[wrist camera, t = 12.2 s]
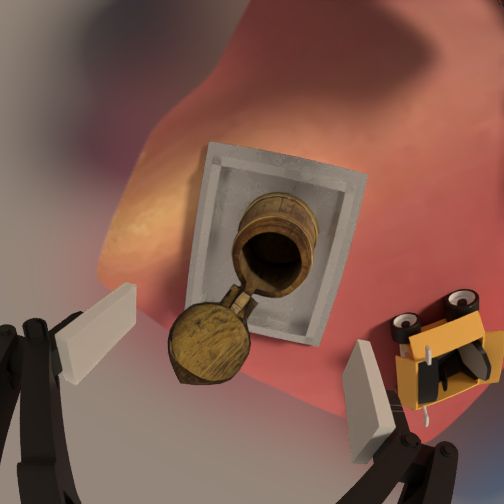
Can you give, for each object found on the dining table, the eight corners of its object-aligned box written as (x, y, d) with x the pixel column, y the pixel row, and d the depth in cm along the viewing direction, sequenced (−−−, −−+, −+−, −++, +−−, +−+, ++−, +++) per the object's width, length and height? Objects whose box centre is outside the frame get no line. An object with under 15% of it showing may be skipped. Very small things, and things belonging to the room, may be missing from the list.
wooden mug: (202, 266, 36) (127, 345, 19) (271, 176, 32) (242, 181, 15) (259, 311, 36) (229, 417, 19) (334, 227, 32) (372, 289, 15)
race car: (382, 315, 36) (405, 361, 26) (475, 282, 32) (515, 314, 22) (391, 393, 39) (406, 442, 29) (472, 362, 35) (499, 402, 25)
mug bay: (212, 142, 33) (202, 139, 29) (365, 174, 31) (373, 174, 28) (187, 310, 39) (177, 323, 36) (318, 341, 38) (319, 357, 34)
